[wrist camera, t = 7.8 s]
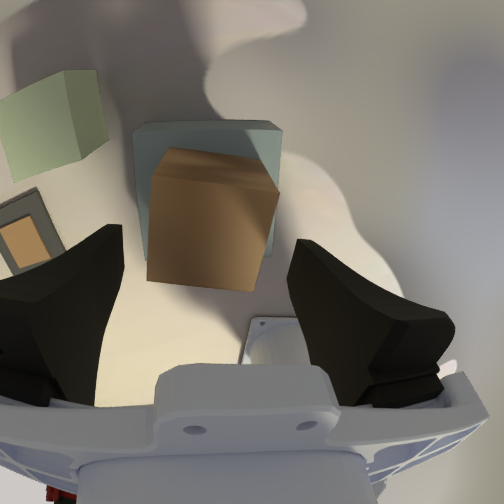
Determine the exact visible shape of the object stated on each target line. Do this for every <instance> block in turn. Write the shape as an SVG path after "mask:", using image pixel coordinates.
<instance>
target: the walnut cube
mask: <svg viewBox="0 0 504 504" xmlns="http://www.w3.org/2000/svg"><path fill="white" fill-rule="evenodd" d="M279 195H280V193H279V191H278V189H277V187H276V185H275V184H274V182H273V180H272V178H271V177H270V175H269V173H268V171H267V170H266V168H265V166H264V164H263V163H262V161H261V160H257V159H251V158H245V157H239V156H233V155H227V154H221V153H214V152H207V151H200V150H192V149H184V148H176V147H169V148H168V149H167V151H166V153H165V154H164V156H163V158H162V160H161V161H160V163H159V165H158V166H157V168H156V170H155V172H154V174H153V175H152V186H151V197H150V211H149V226H148V247H147V281H152V282H160V283H169V284H178V285H186V286H196V287H205V288H215V289H225V290H235V291H246V292H253V291H254V287H255V284H256V280H257V276H258V273H259V269H260V265H261V262H262V258H263V254H264V251H265V247H266V243H267V240H268V236H269V232H270V228H271V225H272V221H273V217H274V214H275V210H276V206H277V202H278V199H279Z"/></svg>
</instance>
